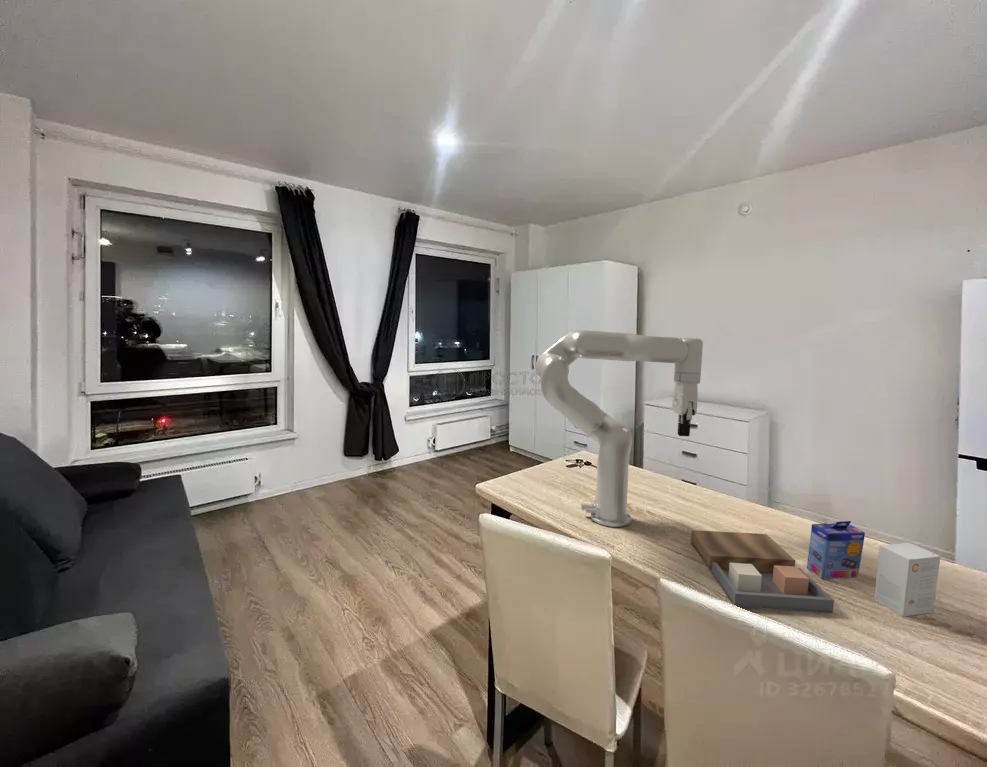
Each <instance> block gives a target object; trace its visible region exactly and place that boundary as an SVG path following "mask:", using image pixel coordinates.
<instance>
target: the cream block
mask: <svg viewBox="0 0 987 767" xmlns="http://www.w3.org/2000/svg"><path fill="white" fill-rule="evenodd" d="M728 578H729V580H730V581H731V582H732V584H733V585H734V586H735V588H736V589H737V590H739V591H753V592H760V591H761V580H762V575H761V574H760V573H759V572H758V571H757V570H756V568H755V567H754V566H753V565H752V564H743V563H730V564H729V577H728Z"/></svg>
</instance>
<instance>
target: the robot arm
mask: <svg viewBox="0 0 987 767" xmlns="http://www.w3.org/2000/svg"><path fill="white" fill-rule="evenodd" d="M703 344H704V342H703V340H702V339H701V338H694V337H682V338H680V337H672V336H656V335H655V336H652V335H642V334H635V333H629V332H617V331H616V332H614V331H599V330H598V331H597V330H585V329H584V330H580V329H579V330H577V329H576V330H572V331H570V332H568V333H566V334H565V335H563V337H561V338H560V339H559V340H558V341H556V343H554V344H553V345H552V346H550V347H549V348H547V349H546V350H545V351H544V352H543V353H542V354H541V355H540V356H539V357H538V358H537V359H536V362H535V371H536V373H537V375H538V376H539V377H540V388H541V392H542V394H543V397H544V398H545V401H547V403H548V404H549V405H550V406H552V408H553V409H555V410H556V411H557V412H558V413H560V414H561V415H563V417H565V418H566V419H567V420H568V421H569V423H571V424H572V425H574V427H575V428H577V429H578V430H580V431H581V432H583V433H584V434H585V435H587V436H588V437H590V439H592V440H593V441H595V442H596V443H597V444H598V445H599V452H598V456H597V463H596V488H595V492H596V494H595V495H596V496H595V500H593V503H590V504H585V503H581V504H580V510H581V511H585V513H586V514H588V513H589V514H590V519H591V520H592V521H594V522H595V523H597V524H599V525H602V526H606V527H612V528H613V527H614V528H617V527H626V526H628V525H630V524H631V523H632V515H631V514H630V513H628V512H627V510H628V489H629V488H628V487H629V485H628V483H629V465H630V464H629V463H630V456H631V450H632V446H633V437H632V433H631V431H630V429H629V428H628V427H627V425H625V424H623V423H622V422H620V421H619V420H617V419H614V417H612V416H610V415H609V414H608V413H606V412H605V411H604V410H602V409H601V408H600V407H599V405H598V404H597V403H595V402H594V401H592V400H590V399H588V398H587V397H586V396H584V395H583V394H581V393H580V392H579V391H578V390H577V389H575V387H573V386H572V385H571V383H570V381H569V371H570V370H569V366H570V365H571V364H572V363H574V362H575V361H576V360H578V359H584V360H585V359H586V360H587V359H588V360H603V361H606V360H607V361H619V362H620V361H622V362H647V363H648V362H649V363H651V362H652V363H664V364H665V363H666V364H674V375H673V382H674V390H673V397H672V407H671V409H672V411H673V412H675V413H676V414H677V416H678V417H677V418H678V419H677V421H678V423H677V435H678V436H679V437H690V434H691V422H692V420H693V416H696V415H697V413H698V412H697V410H698V397H699V396H698V394H699V392H698V391H699V390H698V385H699V384H701V379H702V378H701V377H702V363H703V362H702V360H703V350H704V349H703V347H704V346H703Z"/></svg>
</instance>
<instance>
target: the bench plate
mask: <svg viewBox="0 0 987 767" xmlns="http://www.w3.org/2000/svg"><path fill="white" fill-rule="evenodd" d="M690 545H691V547H693V549H694V550H695V552H696V553H698V554H697V555H698V556H699V558H700V560H701V561H702V562H703V563H705V564H704V565H705V566H706V568H707V569H708V571H710V569H712V562H715V563H717V564H718V565H719V566H720V568H721V569H722V570H729V564H730V563H743V564H752V565H753V566H754V567H755V568H756V570H757V571H758V572H763V573H773V569H774V565H777V566H793V567H796V560H797V559H795V558H794V557H792V555H790V554H789V553H788V552H787V551H786V550H785V549H784V548H783V547H782V546H780V545H779V544H778V543H777V541H775V540H774V539H773V538H772V537H771V536H769V535H768V534H767V533H754V532H736V531H735V532H734V531H717V530H716V531H715V530H714V531H713V530H700V529H699V530H696V529H695V530H694V529H692V530H691V531H690Z"/></svg>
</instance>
